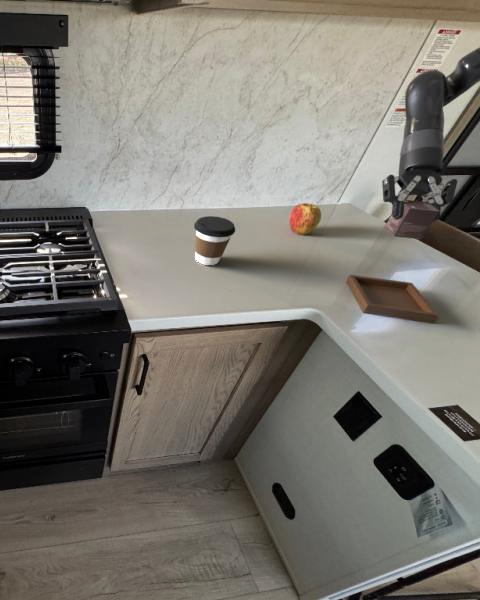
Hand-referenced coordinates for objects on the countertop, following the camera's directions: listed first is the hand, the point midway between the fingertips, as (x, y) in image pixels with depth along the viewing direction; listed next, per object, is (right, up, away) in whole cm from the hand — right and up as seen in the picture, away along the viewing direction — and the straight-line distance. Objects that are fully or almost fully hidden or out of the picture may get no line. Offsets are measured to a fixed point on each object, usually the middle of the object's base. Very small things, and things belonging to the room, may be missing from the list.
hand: (415, 219), depth 81 cm
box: (+1, -3, +4) cm, 5 cm away
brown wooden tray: (-3, -19, +4) cm, 20 cm away
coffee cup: (-42, -8, +21) cm, 47 cm away
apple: (-5, +4, +36) cm, 36 cm away
